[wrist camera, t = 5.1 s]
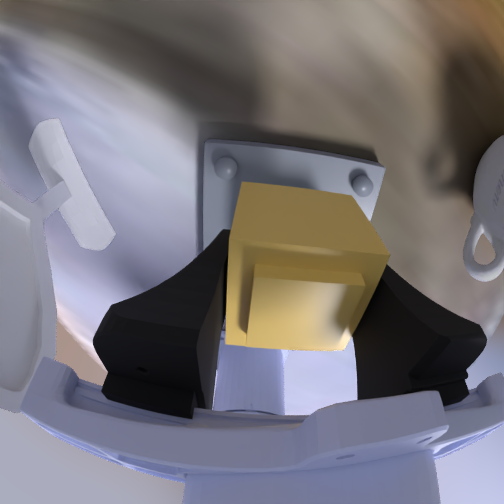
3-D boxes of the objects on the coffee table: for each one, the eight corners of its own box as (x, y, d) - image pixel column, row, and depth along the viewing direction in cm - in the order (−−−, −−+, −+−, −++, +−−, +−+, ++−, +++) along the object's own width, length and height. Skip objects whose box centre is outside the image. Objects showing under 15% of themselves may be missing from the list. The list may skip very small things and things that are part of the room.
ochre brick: (327, 280, 14) (346, 361, 10) (235, 271, 14) (223, 356, 10) (352, 195, 12) (397, 266, 7) (241, 181, 12) (226, 250, 7)
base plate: (338, 289, 24) (349, 329, 20) (206, 277, 24) (196, 318, 20) (379, 162, 17) (408, 188, 13) (208, 138, 17) (190, 157, 13)
